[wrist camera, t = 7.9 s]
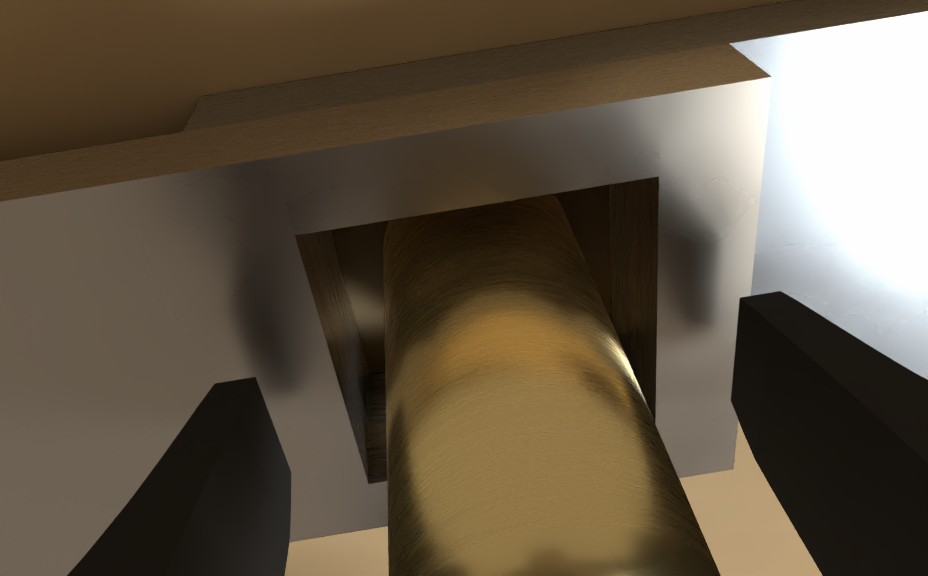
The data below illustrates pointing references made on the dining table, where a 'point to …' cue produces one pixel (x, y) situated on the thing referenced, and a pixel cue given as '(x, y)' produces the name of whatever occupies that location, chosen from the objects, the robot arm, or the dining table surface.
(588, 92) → the gray slotted block
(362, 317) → the dining table surface
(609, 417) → the pin
